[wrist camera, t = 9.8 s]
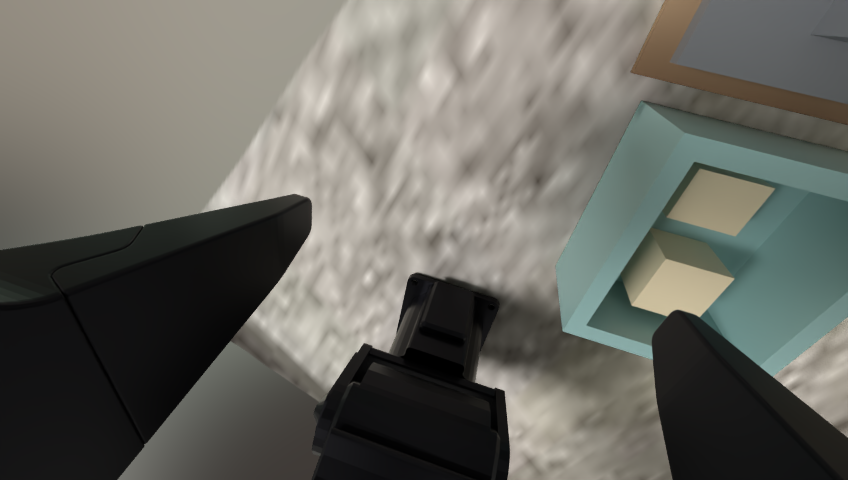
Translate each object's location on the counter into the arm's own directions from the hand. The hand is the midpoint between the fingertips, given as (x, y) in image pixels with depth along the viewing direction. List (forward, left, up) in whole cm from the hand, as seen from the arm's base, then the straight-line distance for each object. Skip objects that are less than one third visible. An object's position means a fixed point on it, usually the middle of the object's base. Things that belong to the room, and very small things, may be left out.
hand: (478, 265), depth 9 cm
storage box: (-2, -10, -12) cm, 16 cm away
